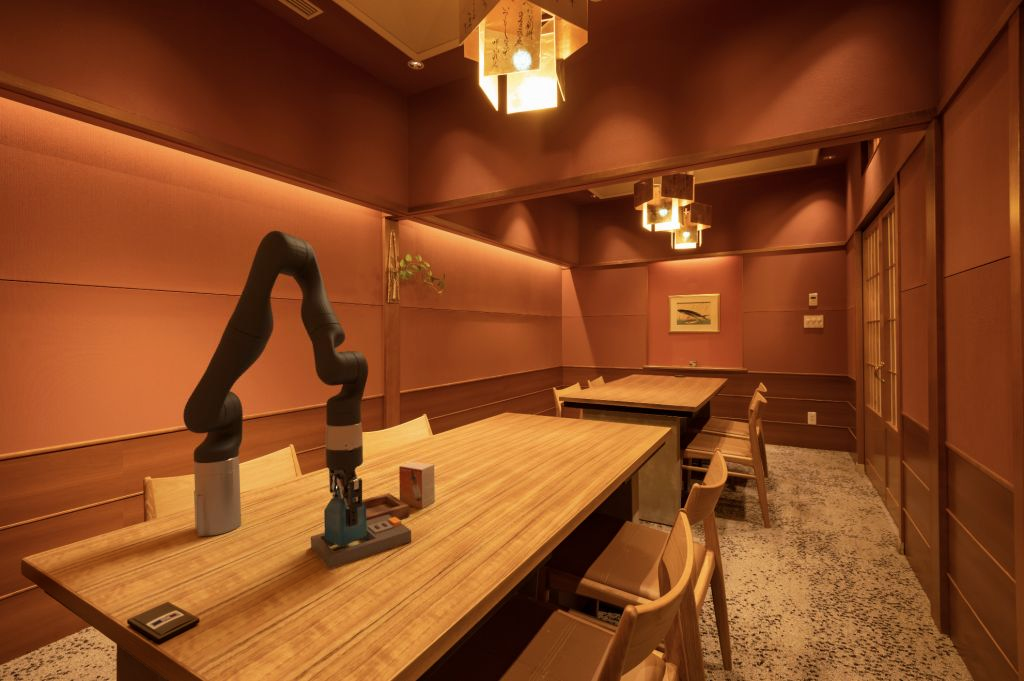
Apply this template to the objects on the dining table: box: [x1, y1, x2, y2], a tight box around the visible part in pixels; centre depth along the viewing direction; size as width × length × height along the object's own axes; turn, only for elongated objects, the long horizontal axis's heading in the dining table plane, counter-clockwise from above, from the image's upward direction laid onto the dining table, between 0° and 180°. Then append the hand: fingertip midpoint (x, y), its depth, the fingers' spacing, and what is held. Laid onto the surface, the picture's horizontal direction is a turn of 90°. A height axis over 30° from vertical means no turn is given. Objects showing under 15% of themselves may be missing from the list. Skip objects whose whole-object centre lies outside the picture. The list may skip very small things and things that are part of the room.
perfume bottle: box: [323, 484, 367, 547], centre depth 99 cm, size 6×6×12 cm
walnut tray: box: [362, 493, 410, 521], centre depth 117 cm, size 12×12×3 cm
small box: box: [398, 460, 436, 510], centre depth 126 cm, size 8×6×10 cm
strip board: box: [310, 515, 412, 570], centre depth 102 cm, size 18×12×3 cm, turn 129°
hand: (345, 519), depth 99 cm, fingers closed on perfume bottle, 7 cm apart
